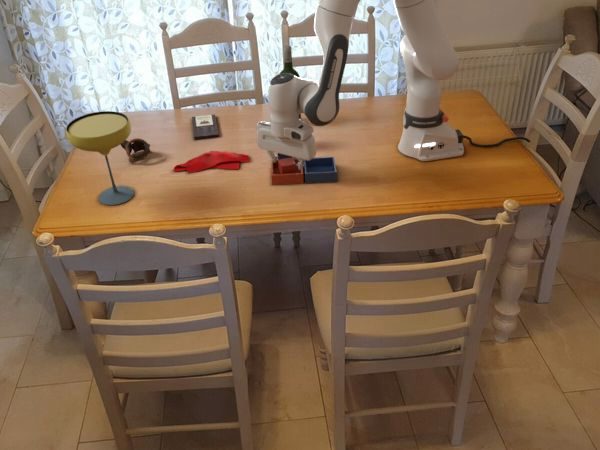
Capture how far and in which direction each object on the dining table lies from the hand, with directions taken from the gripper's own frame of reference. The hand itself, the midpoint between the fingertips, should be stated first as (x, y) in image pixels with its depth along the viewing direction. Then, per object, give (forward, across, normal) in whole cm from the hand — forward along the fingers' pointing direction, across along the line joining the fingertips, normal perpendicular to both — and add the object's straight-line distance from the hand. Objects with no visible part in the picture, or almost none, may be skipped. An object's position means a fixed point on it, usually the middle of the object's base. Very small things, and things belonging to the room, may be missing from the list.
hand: (286, 165), depth 182 cm
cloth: (+4, -28, -3) cm, 28 cm away
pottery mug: (+4, -54, -13) cm, 56 cm away
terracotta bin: (+4, 0, 0) cm, 4 cm away
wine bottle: (+4, -19, +34) cm, 39 cm away
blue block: (+4, -6, +8) cm, 11 cm away
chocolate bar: (+4, -46, +17) cm, 50 cm away
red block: (+4, 0, 0) cm, 4 cm away
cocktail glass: (+4, -42, -35) cm, 55 cm away
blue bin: (+4, +9, +6) cm, 12 cm away
